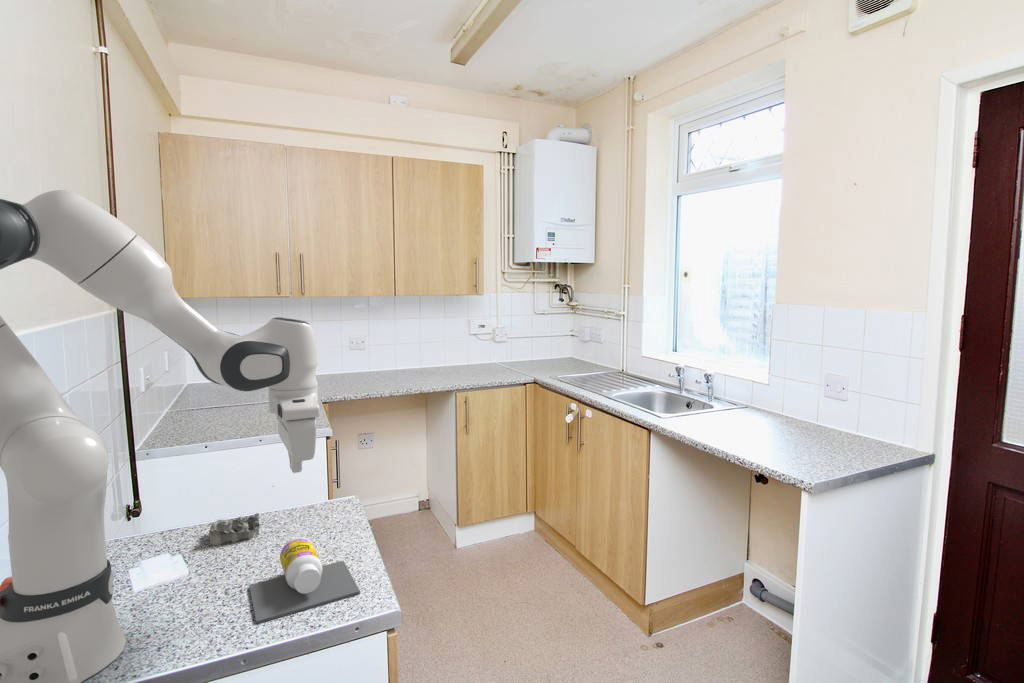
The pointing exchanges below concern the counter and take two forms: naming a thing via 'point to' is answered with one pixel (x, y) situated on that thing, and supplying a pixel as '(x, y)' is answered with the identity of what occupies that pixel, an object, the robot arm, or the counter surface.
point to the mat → (284, 600)
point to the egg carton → (224, 529)
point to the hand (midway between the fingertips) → (295, 470)
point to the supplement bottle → (301, 565)
